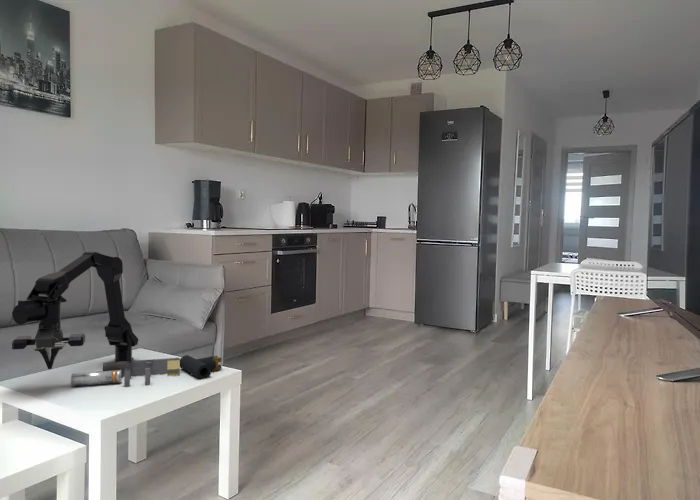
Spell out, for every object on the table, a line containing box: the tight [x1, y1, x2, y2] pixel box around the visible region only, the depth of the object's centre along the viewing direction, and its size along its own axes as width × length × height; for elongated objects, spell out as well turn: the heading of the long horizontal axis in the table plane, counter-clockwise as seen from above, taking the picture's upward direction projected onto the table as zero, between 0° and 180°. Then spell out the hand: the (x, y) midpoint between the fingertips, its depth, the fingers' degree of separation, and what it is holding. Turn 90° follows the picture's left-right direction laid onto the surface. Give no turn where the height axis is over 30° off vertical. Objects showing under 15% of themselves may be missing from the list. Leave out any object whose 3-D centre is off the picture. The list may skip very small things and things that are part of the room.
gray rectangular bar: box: [102, 357, 181, 378], centre depth 169 cm, size 4×24×5 cm, turn 110°
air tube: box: [70, 370, 123, 388], centre depth 160 cm, size 14×4×4 cm, turn 110°
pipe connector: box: [180, 354, 222, 380], centre depth 176 cm, size 12×5×15 cm
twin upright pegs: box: [123, 361, 152, 388], centre depth 164 cm, size 10×8×5 cm
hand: (50, 368), depth 155 cm, fingers closed
